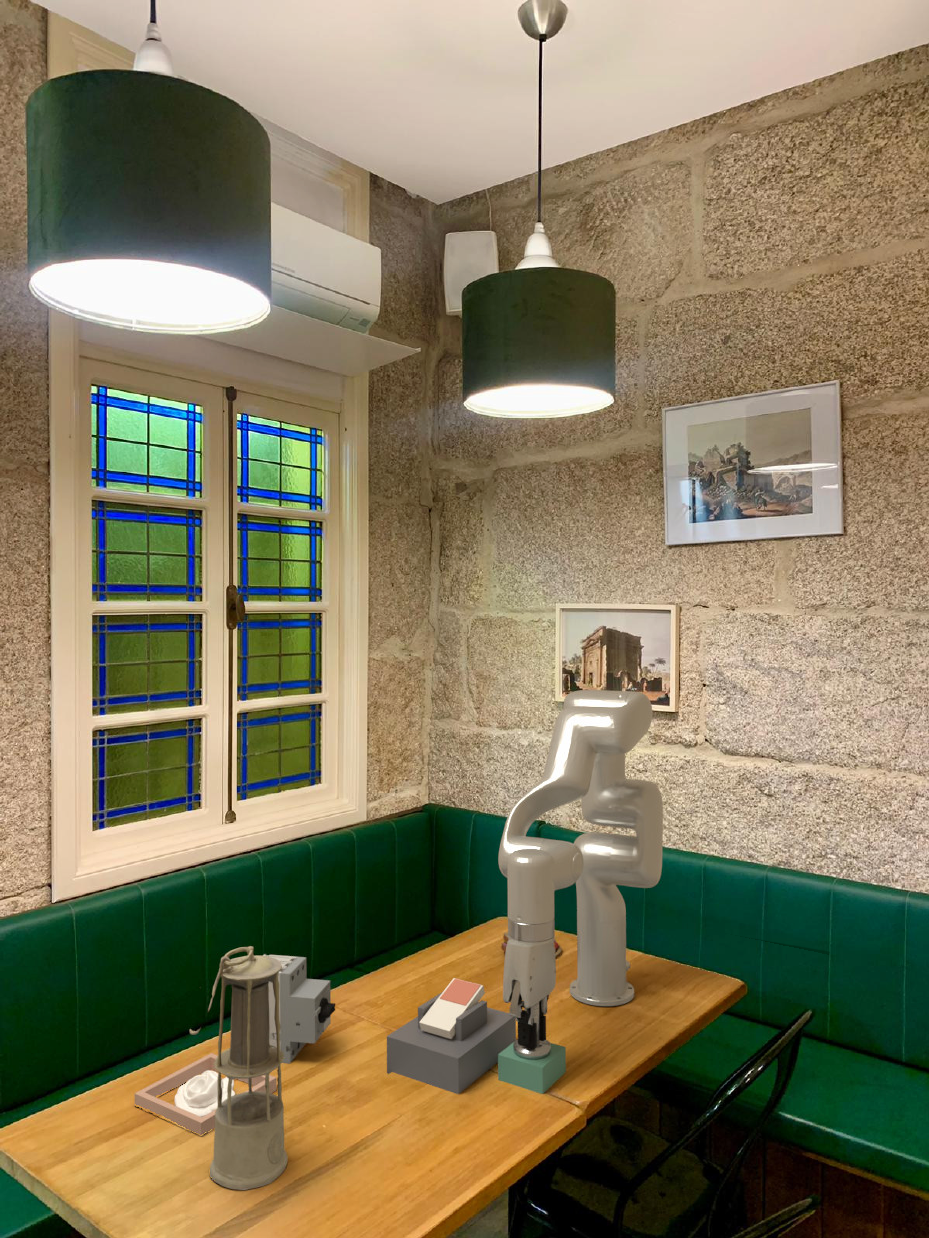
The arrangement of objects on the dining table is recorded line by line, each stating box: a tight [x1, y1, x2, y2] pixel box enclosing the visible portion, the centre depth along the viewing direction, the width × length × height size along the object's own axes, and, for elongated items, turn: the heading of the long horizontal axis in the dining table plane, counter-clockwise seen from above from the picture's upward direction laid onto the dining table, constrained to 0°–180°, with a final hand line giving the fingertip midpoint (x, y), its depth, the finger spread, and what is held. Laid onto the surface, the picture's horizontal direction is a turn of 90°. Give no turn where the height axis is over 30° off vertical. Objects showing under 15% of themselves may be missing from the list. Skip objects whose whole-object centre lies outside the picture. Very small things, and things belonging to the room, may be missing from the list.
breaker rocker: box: [419, 977, 486, 1039], centre depth 150 cm, size 11×6×2 cm, turn 147°
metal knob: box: [513, 1002, 551, 1060], centre depth 144 cm, size 6×6×12 cm
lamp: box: [189, 945, 288, 1191], centre depth 120 cm, size 10×13×30 cm
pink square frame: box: [134, 1052, 277, 1135], centre depth 139 cm, size 15×15×2 cm
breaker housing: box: [386, 991, 517, 1095], centre depth 150 cm, size 18×14×10 cm
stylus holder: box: [497, 1042, 567, 1095], centre depth 144 cm, size 8×8×4 cm
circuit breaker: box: [262, 953, 336, 1065], centre depth 153 cm, size 8×14×15 cm, turn 78°
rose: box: [173, 1069, 236, 1117], centre depth 137 cm, size 10×4×10 cm
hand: (532, 1041), depth 144 cm, fingers closed on metal knob
